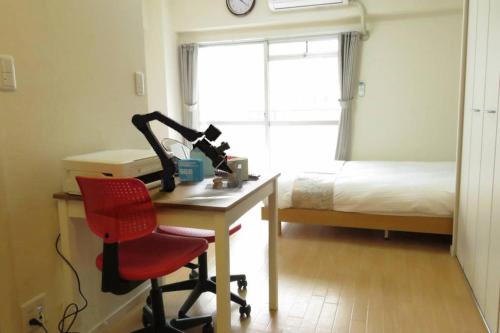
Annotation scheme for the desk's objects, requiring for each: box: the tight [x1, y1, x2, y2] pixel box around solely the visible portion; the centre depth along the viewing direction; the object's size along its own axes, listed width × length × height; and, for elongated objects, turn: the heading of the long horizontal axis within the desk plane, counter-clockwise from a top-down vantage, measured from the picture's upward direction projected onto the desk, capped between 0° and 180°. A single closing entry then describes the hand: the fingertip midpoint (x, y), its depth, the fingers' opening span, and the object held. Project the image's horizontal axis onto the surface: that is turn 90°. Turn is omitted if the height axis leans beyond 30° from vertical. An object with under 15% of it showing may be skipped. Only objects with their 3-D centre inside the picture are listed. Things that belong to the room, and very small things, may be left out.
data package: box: [177, 158, 205, 183], centre depth 199 cm, size 12×4×12 cm, turn 76°
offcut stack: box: [212, 176, 224, 189], centre depth 183 cm, size 4×10×4 cm, turn 0°
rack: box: [204, 164, 244, 190], centre depth 182 cm, size 18×12×10 cm
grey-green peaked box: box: [189, 147, 219, 178], centre depth 216 cm, size 16×8×20 cm, turn 80°
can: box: [229, 157, 249, 182], centre depth 197 cm, size 9×9×12 cm
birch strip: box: [227, 159, 237, 183], centre depth 182 cm, size 4×2×12 cm, turn 90°
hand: (232, 171), depth 182 cm, fingers open, 9 cm apart
